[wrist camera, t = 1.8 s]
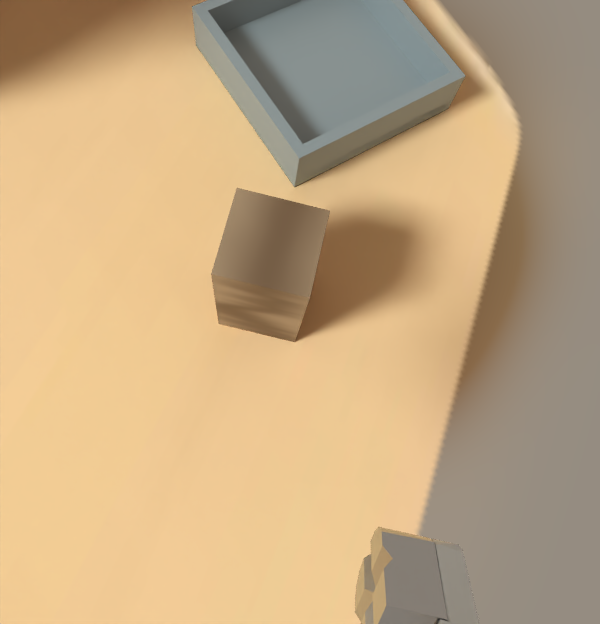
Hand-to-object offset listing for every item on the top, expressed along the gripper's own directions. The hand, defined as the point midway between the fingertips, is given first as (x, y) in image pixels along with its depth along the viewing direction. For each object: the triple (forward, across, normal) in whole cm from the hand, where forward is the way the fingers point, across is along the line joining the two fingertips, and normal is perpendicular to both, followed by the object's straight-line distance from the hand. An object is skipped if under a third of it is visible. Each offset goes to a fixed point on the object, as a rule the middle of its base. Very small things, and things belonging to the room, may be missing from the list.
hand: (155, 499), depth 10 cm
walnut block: (+25, 0, +7) cm, 26 cm away
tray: (+38, 0, -6) cm, 38 cm away
